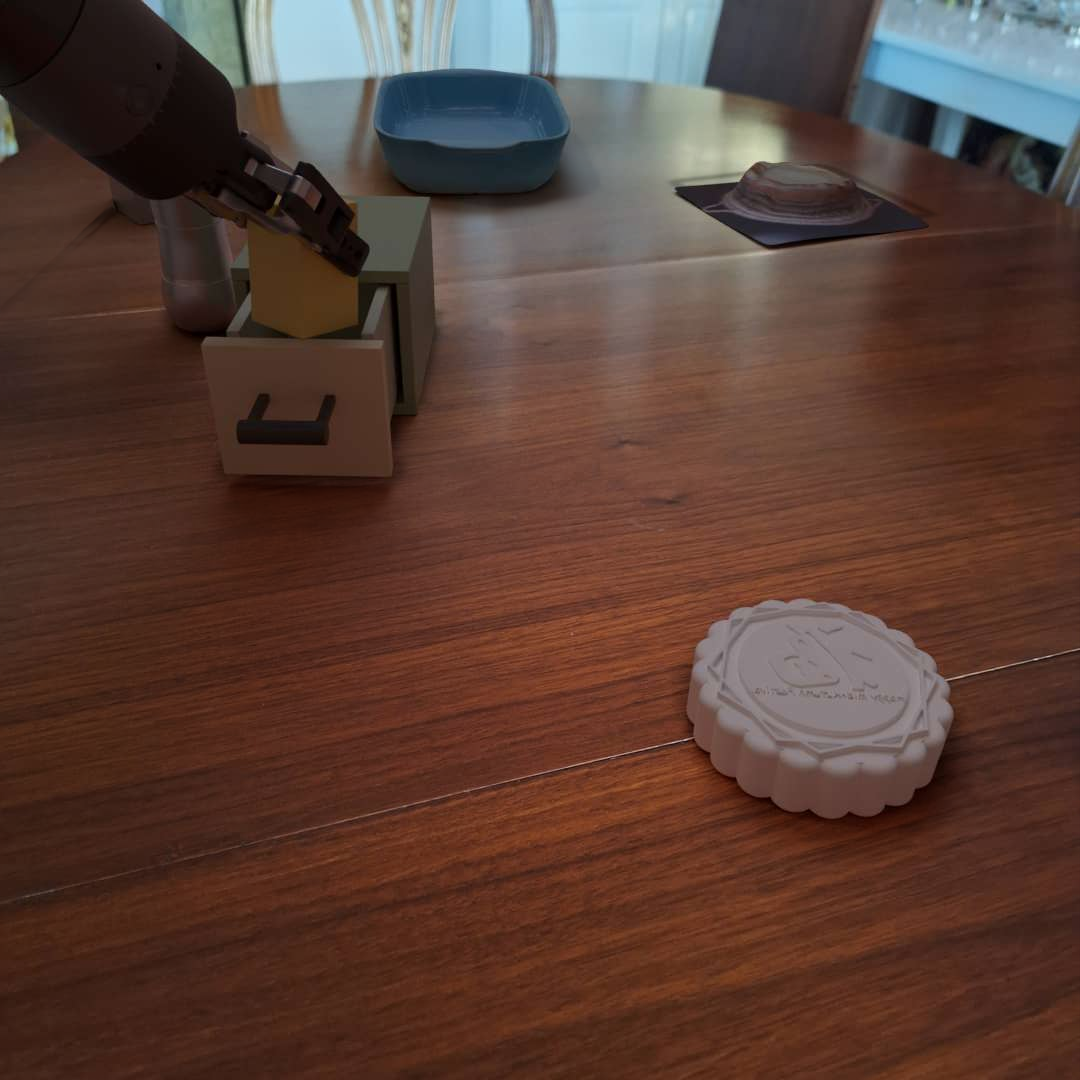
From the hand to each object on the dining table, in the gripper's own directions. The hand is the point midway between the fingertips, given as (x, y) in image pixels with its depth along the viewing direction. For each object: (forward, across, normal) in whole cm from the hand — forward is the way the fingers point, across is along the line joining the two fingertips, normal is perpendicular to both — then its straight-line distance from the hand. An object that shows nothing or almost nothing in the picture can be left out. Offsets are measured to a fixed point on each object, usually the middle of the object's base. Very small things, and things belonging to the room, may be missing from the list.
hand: (329, 252), depth 64 cm
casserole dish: (+51, +38, -30) cm, 70 cm away
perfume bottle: (+25, +51, -6) cm, 57 cm away
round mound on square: (+58, -2, -36) cm, 68 cm away
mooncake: (+6, -37, +14) cm, 40 cm away
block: (+1, 0, +4) cm, 5 cm away
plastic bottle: (+14, +23, +5) cm, 27 cm away
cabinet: (+15, +8, +4) cm, 18 cm away
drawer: (+7, +1, +10) cm, 13 cm away
